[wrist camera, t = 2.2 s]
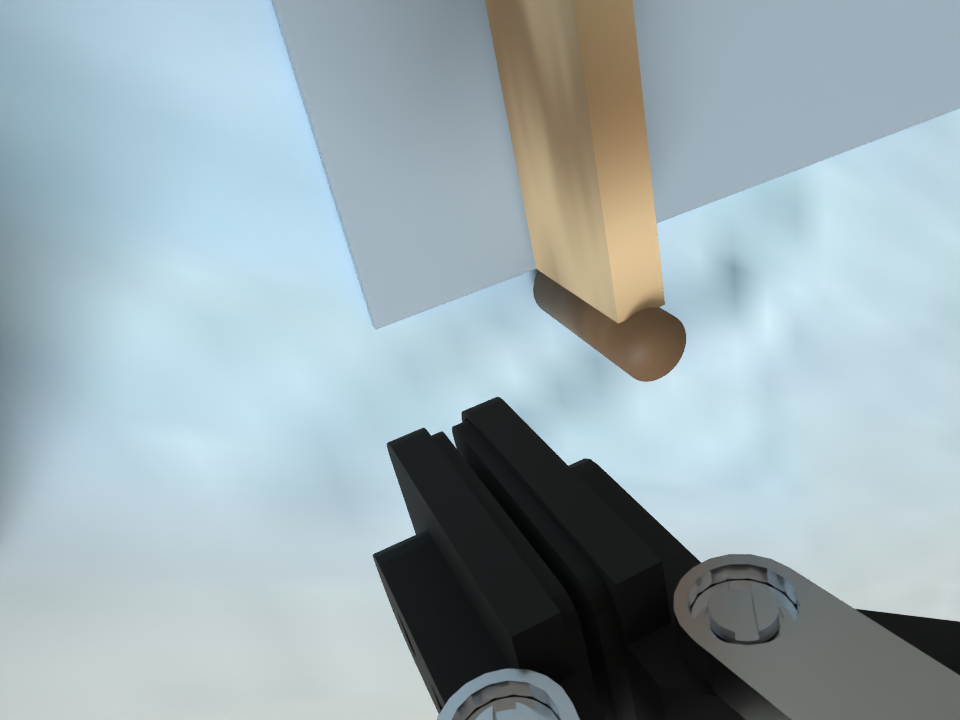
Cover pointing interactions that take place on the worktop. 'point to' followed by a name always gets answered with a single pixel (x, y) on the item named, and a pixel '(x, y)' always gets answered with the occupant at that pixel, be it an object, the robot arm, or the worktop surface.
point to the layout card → (667, 105)
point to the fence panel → (587, 174)
